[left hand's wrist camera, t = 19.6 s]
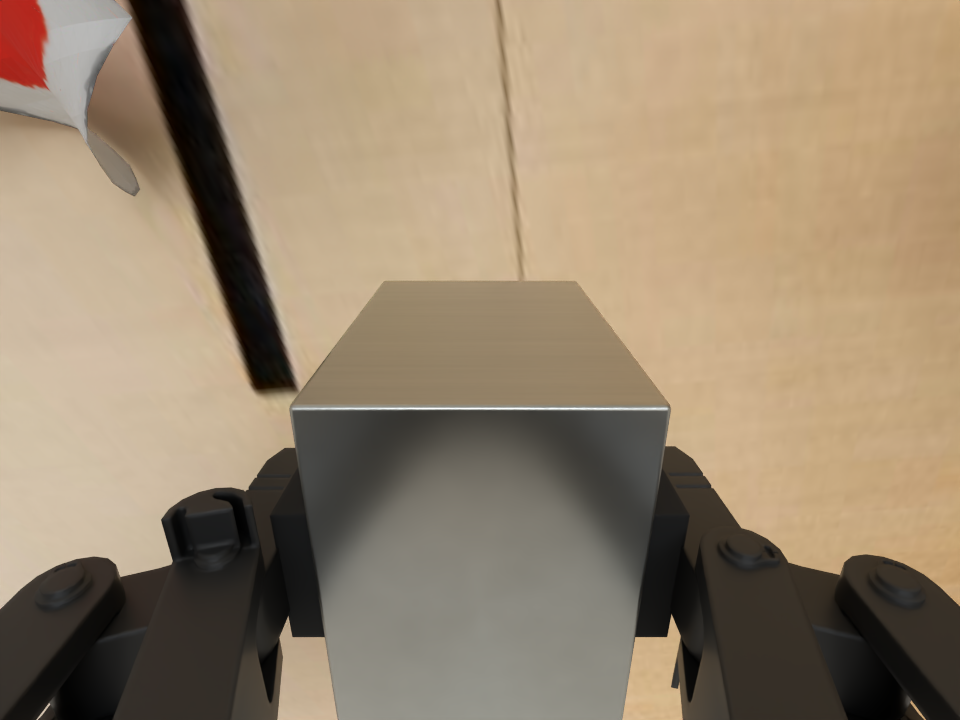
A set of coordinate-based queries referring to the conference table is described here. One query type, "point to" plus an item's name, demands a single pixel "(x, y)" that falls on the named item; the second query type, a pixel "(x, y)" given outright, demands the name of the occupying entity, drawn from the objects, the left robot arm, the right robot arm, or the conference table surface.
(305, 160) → the conference table surface
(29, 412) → the conference table surface
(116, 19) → the fish
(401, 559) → the block
